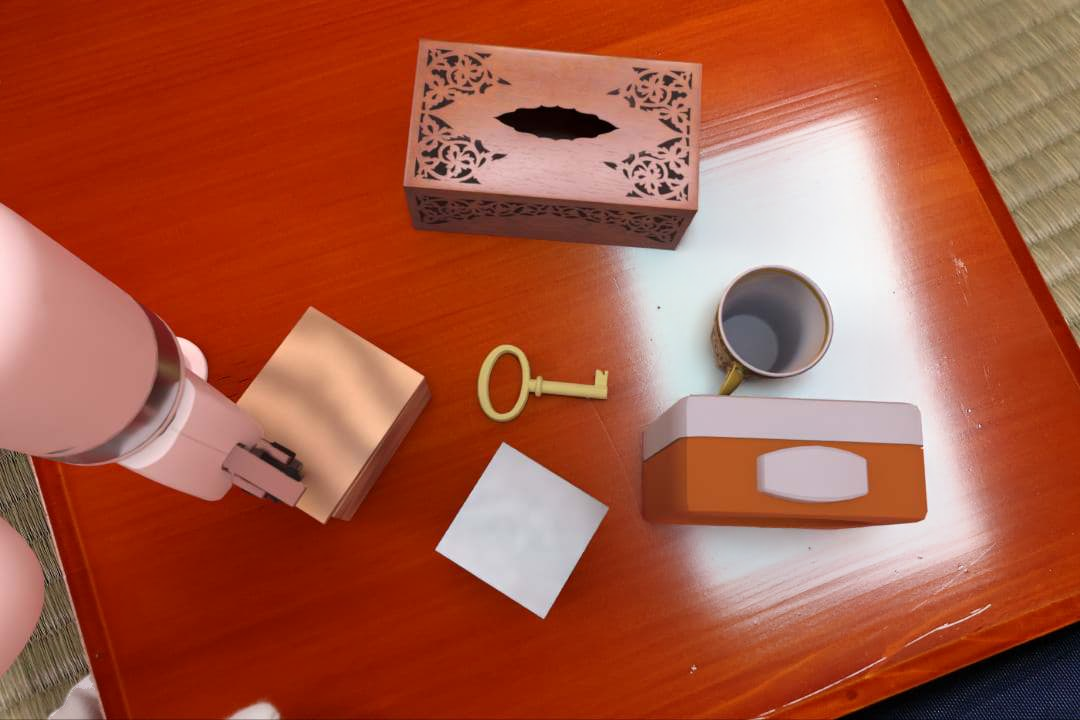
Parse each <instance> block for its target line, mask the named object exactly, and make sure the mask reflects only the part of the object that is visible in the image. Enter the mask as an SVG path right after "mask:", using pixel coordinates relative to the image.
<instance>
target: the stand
mask: <svg viewBox="0 0 1080 720" xmlns="http://www.w3.org/2000/svg"><path fill="white" fill-rule="evenodd" d="M610 509H611V507H610V506H608V505H607V504H605V503H603V502H602V501H601V500H599V499H597V498H596V497H594V496H592V495H591V494H589V493H588V492H586V491H584V490H583V489H581V488H580V487H578V486H576V485H575V484H573V483H572V482H570V481H568V480H567V479H566V478H563V477H561V476H560V475H559V474H557V473H556V472H554V471H552V470H551V469H549V468H547V467H545V466H544V465H542V464H541V463H539V462H538V461H536V460H534V459H533V458H531V457H530V456H528V455H526V454H525V453H523V452H521V451H520V450H519V449H516V448H515V447H513V446H512V445H510V444H509V443H507V442H505V441H504V440H503V441H501V443H500V445H499V446H498V447H497V449H496V451H495V452H494V453H493V456H492V457H491V459H490V460H489V462H488V464H486V467H485V468H484V470H483V471H482V473H481V475H480V476H479V478H478V479H477V481H476V483H475V484H474V486H473V488H472V489H471V491H470V492H469V494H468V495H467V497H466V499H465V500H464V502H463V503H462V505H461V507H460V508H459V509H458V511H457V513H456V514H455V516H454V518H453V520H452V521H451V523H450V524H449V526H448V527H447V529H446V530H445V532H444V534H442V536H441V538H440V540H439V541H438V543H437V545H436V546H435V548H434V551H435V552H437V554H439V555H441V556H442V557H444V558H446V559H447V560H449V561H450V562H452V563H453V564H455V565H456V566H459V567H460V568H461V569H463V570H465V571H467V572H468V573H469V574H471V575H472V576H474V577H475V578H477V579H479V580H480V581H482V582H483V583H485V584H487V585H488V586H490V587H491V588H493V589H494V590H496V591H498V592H499V593H501V594H502V595H504V596H505V597H507V598H508V599H510V600H512V601H513V602H514V603H517V605H520V606H521V607H523V608H524V609H526V610H527V611H529V612H531V613H532V614H534V615H535V616H536V617H538V618H539V619H542V620H543V621H544V620H546V618H547V616H548V614H550V611H551V610H552V608H553V606H554V604H555V603H556V601H557V600H558V598H559V595H560V594H561V592H562V591H563V589H564V588H565V585H566V584H567V582H568V581H569V579H570V577H571V575H572V574H573V572H574V570H575V569H576V567H577V565H578V563H579V562H580V560H581V559H582V556H583V555H584V553H585V551H586V550H587V548H588V547H589V545H590V543H591V541H592V539H593V537H595V535H596V533H597V531H598V529H599V527H600V526H601V524H602V522H603V521H604V519H605V517H606V516H607V514H608V513H609V510H610Z"/></svg>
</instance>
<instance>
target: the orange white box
mask: <svg viewBox="0 0 1080 720" xmlns="http://www.w3.org/2000/svg"><path fill="white" fill-rule="evenodd" d="M642 462H643V464H642V515H643V518H644V521H645V522H648V523H650V524H653V525H677V526H705V527H706V526H707V527H741V528H742V527H743V528H767V529H796V530H797V529H798V530H821V531H822V530H823V531H824V530H826V531H827V530H829V531H838V530H848V529H859V528H869V527H882V526H893V525H905V524H915V523H917V524H918V523H920V522H922V521H925V520H926V517H927V515H928V511H929V509H928V497H927V496H928V495H927V494H928V493H927V481H926V479H927V478H926V466H925V465H926V464H925V453H924V440H923V425H922V412H921V411H920V408H919V407H918V405H915V404H913V403H912V404H911V403H908V402H903V401H901V402H900V401H899V402H898V401H876V400H855V399H854V400H852V399H825V398H823V399H822V398H802V397H801V398H799V397H798V398H797V397H774V396H773V397H771V396H770V397H769V396H752V395H751V396H750V395H749V396H748V395H746V396H745V395H730V396H727V395H718V394H690V395H686V396H684V397H681V398H679V399H678V400H677V401H676V402H675V403H673V404H672V405H671V406H670V407H669V408H668V409H667V410H666V411H664V412H663V413H662V414H661V415H660V416H659V417H658V418H657V419H655V420H654V421H653V422H652V423H651V424H650V425H649V426H647V428H645V430H644V432H643V434H642Z"/></svg>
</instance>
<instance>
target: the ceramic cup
mask: <svg viewBox="0 0 1080 720" xmlns="http://www.w3.org/2000/svg"><path fill="white" fill-rule="evenodd" d="M713 321H714V322H713V325H712V329H711V333H710V337H709V343H710V347H711V352H712V356H713V361H714V365H715V367H716V368H717V369H719V370H720V371H722V373H724V374H725V375H726V377H725V379H724V381H723V383H722V385H721V387H720V388H719V391H718V393H717V395H727V396H732V394H733V393H734V392H735V391H736V390H737V389H738V388H739V387H740V386H741V384H742V383H743V382H746V381H753V380H779V379H788V378H791V377H796V376H799V375H802V374H804V373H806V372H808V371H809V370H811V369H812V368H814V367H815V366H816V365H817V364H818V363H820V361H821V360H822V359H823V358H824V357H825V355H826V353H827V352H828V350H829V347H830V346H831V343H832V339H833V336H834V315H833V311H832V307H831V305H830V303H829V300H828V298H827V296H826V295H825V293H824V291H823V290H822V289H821V288H820V287H819V285H818V284H817V283H816V282H815V281H814V280H812V279H811V278H810V277H809V276H807V275H806V274H805V273H803V272H801V271H799V270H797V269H794V268H791V267H790V266H786V265H785V266H784V265H778V264H765V265H764V264H763V265H760V266H759V265H758V266H755V267H753V268H749V269H747V270H744V271H743V272H741V273H740V274H739V275H737V276H736V277H735V278H734V279H733V280H732V281H731V282H730V283H729V284H728V285H727V287H726V288H725V290H724V292H723V293H722V296H721V298H720V300H719V303H718V305H717V307H716V311H715V316H714V318H713Z"/></svg>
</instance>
